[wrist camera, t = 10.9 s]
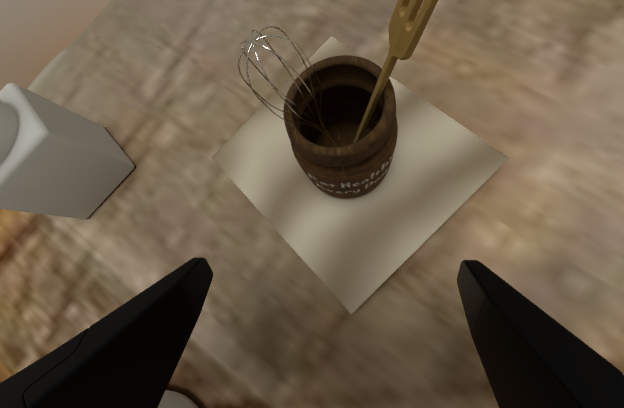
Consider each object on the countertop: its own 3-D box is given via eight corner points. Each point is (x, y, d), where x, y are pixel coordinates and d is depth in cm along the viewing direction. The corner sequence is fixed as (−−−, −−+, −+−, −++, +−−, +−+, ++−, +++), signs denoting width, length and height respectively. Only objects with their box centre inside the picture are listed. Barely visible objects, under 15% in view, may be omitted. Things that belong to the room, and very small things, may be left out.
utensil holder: (298, 138, 19) (192, -50, 7) (380, 111, 18) (409, -158, 6) (317, 211, 17) (219, 124, 6) (406, 186, 16) (510, 18, 5)
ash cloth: (496, 166, 17) (509, 158, 15) (352, 309, 17) (351, 314, 15) (333, 51, 21) (331, 36, 20) (221, 163, 21) (211, 157, 20)
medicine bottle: (104, 125, 25) (-111, 20, 14) (137, 167, 23) (-83, 83, 12) (58, 175, 25) (-196, 110, 14) (87, 221, 23) (-182, 189, 12)
